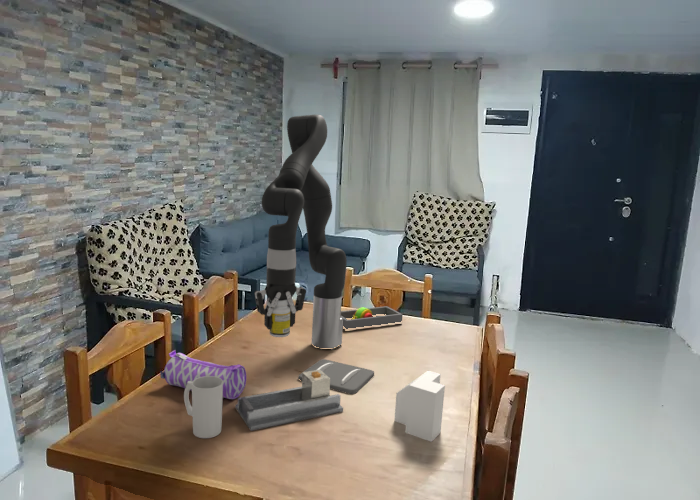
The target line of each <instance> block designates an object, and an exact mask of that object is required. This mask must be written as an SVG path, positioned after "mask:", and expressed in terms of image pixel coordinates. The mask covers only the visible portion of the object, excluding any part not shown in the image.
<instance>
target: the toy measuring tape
mask: <svg viewBox="0 0 700 500" xmlns="http://www.w3.org/2000/svg"><path fill="white" fill-rule="evenodd" d="M368 308H369V307H368ZM368 308H367V307H364V306H362V307H359V308H357V309H358V310H357V309H356V310H357V311H356V312H355V314H354V316H353V318H352V319H359V318H368V317H373V316H372V312H371V310H370V309H368ZM384 315H385V314H384Z"/></svg>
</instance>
